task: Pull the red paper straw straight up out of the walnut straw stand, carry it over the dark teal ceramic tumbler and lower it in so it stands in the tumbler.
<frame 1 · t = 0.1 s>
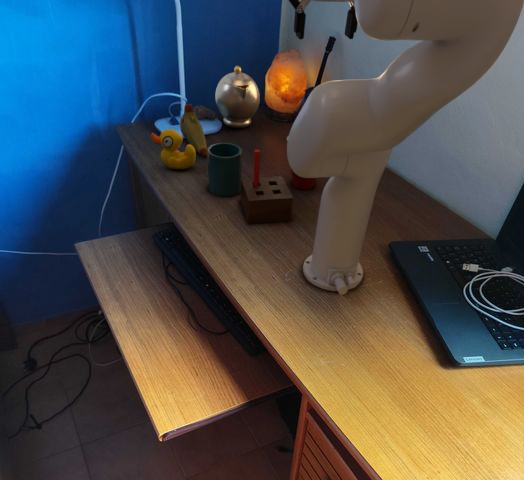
hand: (324, 37, 87), 37 cm above the table, tool pointing down, fingers open, 9 cm apart
straw: (255, 207, 115), resting in straw stand
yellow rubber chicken: (194, 146, 136), on the table
straw stand: (265, 210, 114), on the table
plastic cup: (303, 184, 124), on the table
duckling: (176, 168, 127), on the table
tumbler: (225, 188, 120), on the table
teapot: (235, 122, 150), on the table
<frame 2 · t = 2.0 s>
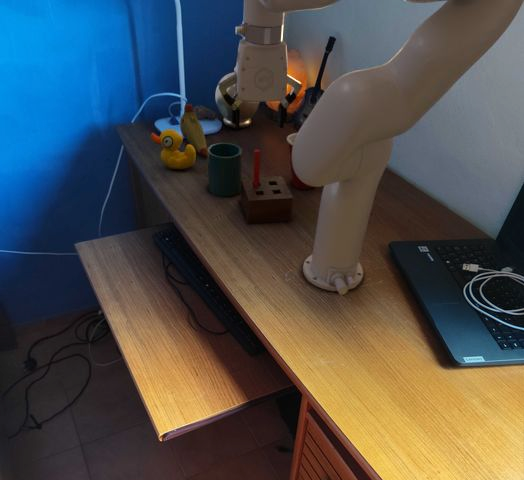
hand: (258, 126, 101), 19 cm above the table, tool pointing down, fingers open, 9 cm apart
nothing on the table moved.
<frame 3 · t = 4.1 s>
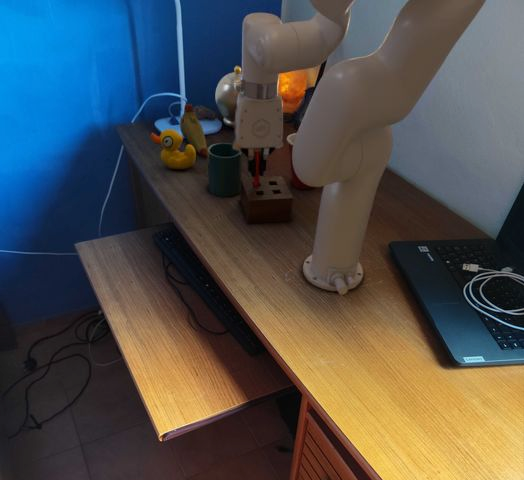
hand: (256, 173, 108), 9 cm above the table, tool pointing down, fingers closed on straw, 1 cm apart
straw: (255, 207, 115), resting in straw stand, touching gripper
everything else where it was.
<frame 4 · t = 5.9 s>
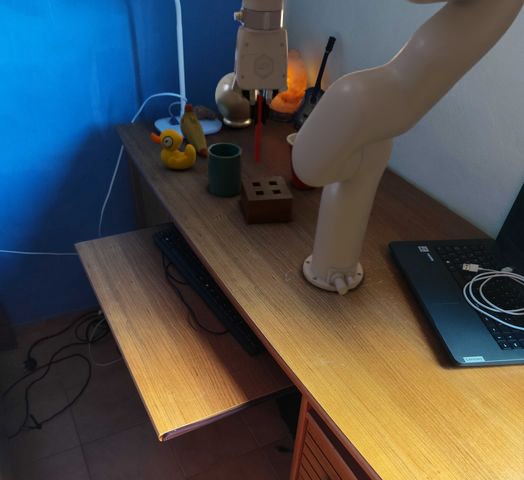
hand: (258, 121, 100), 20 cm above the table, tool pointing down, fingers closed on straw, 1 cm apart
straw: (257, 160, 106), point 12 cm above the table, touching gripper
everything else where it was.
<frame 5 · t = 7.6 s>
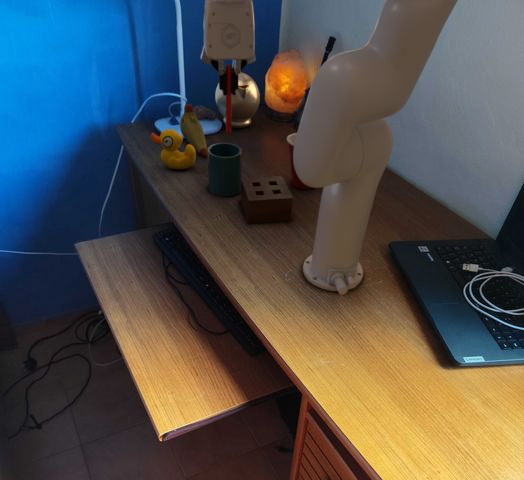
hand: (228, 92, 102), 23 cm above the table, tool pointing down, fingers closed on straw, 1 cm apart
straw: (228, 132, 109), point 15 cm above the table, touching gripper
everything else where it was.
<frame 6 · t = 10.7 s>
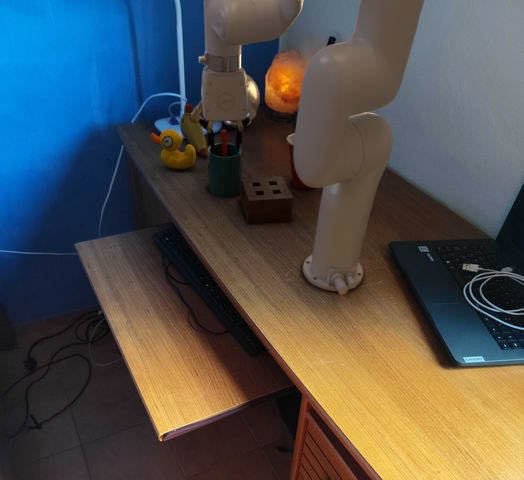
hand: (224, 146, 112), 11 cm above the table, tool pointing down, fingers open, 5 cm apart
straw: (225, 185, 120), point 1 cm above the table, touching tumbler
tumbler: (225, 188, 120), on the table, touching straw
everything else where it was.
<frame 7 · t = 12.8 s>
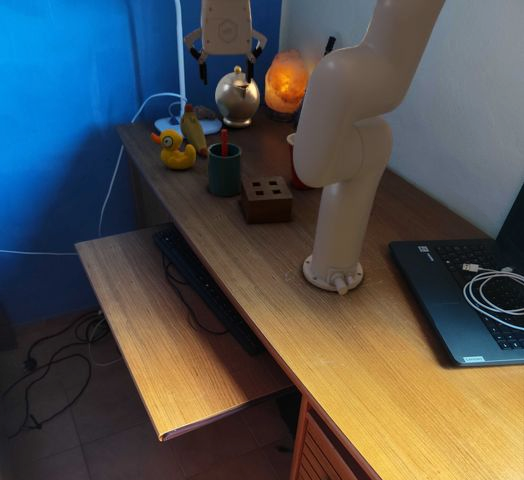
hand: (226, 82, 102), 25 cm above the table, tool pointing down, fingers open, 9 cm apart
nothing on the table moved.
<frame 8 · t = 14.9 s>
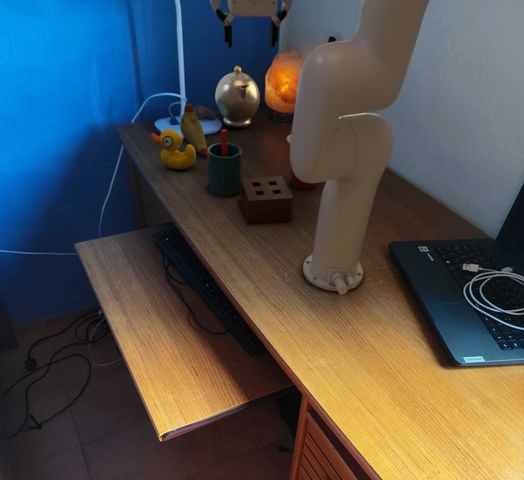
hand: (250, 45, 103), 30 cm above the table, tool pointing down, fingers open, 9 cm apart
nothing on the table moved.
at the end: straw moved 11.8 cm from its start; straw inside the target area in the tumbler (0.2 cm from its centre), point 0.6 cm above the tumbler's base; straw tilted 0° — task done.
